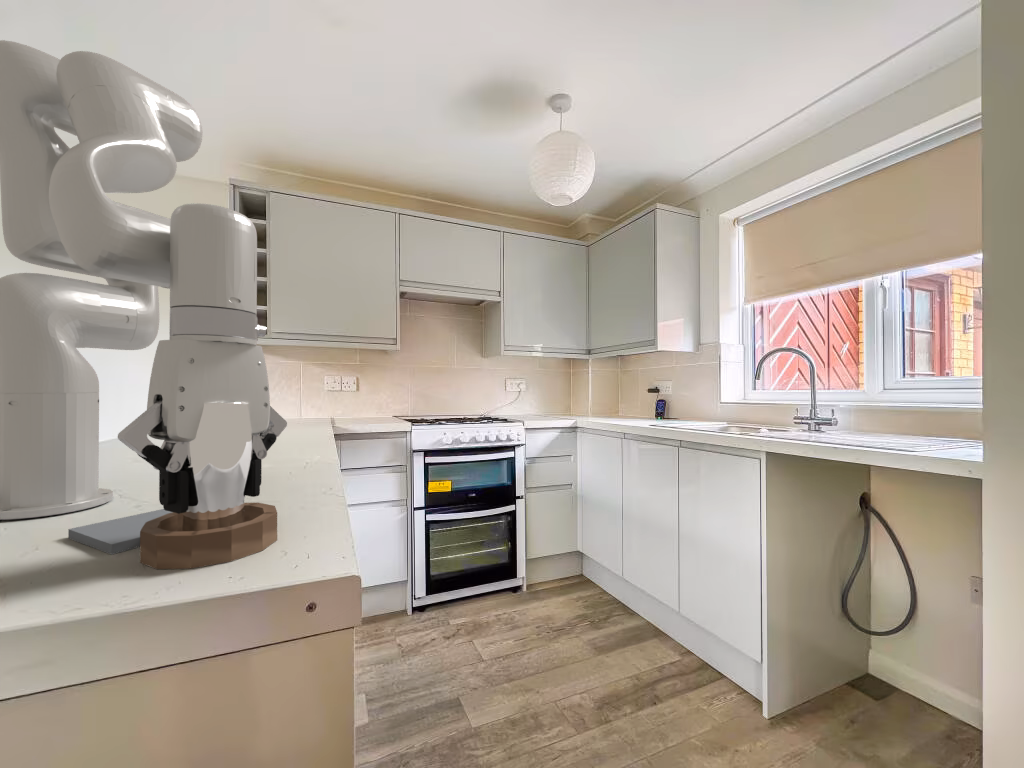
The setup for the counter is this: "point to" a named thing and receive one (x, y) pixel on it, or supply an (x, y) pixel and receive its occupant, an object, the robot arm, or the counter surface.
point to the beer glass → (219, 466)
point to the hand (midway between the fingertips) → (214, 501)
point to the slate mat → (114, 532)
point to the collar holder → (206, 540)
